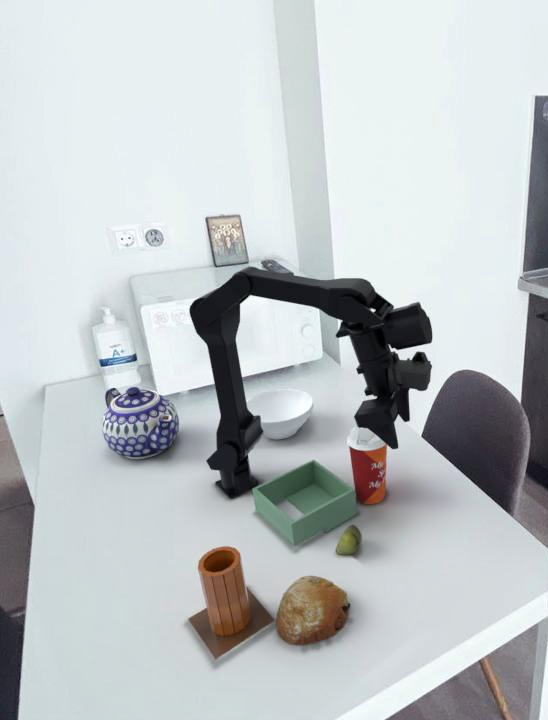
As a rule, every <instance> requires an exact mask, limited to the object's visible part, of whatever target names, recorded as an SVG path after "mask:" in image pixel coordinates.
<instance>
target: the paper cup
mask: <svg viewBox="0 0 548 720" xmlns="http://www.w3.org/2000/svg"><path fill="white" fill-rule="evenodd" d="M346 443H347V445H348V448H349V456H350V462H351V471H352V479H353V486H354V489H355V495H356V501H358V502H360V503H361V504H364V505H376V504H379V503H381V502H382V501H383V500H384V498H385V496H386V488H387V487H386V485H387V457H388V456H387V455H388V445H387V444H386V443H385V442H384V441H382V440H381V439H380V438H379V437H378V436H377V435H376V434H374V433H373V432H372V431H370V430H369V429H368V428H363V427H362V428H359V427H358V426H357V425H355V426H354V427H352V428H351V429H350V430H349V433H348V435H347V437H346Z"/></svg>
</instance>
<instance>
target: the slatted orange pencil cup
mask: <svg viewBox="0 0 548 720" xmlns="http://www.w3.org/2000/svg"><path fill="white" fill-rule="evenodd" d="M197 571H198V575H199V580H200V585H201V589H202V593H203V598H204V603H205V607H206V608H207V611H208V616H209V620H210V625H211V628H212V630H213V631H214V632H215V633H216V634H218V635H222V636H224V635H225V636H228V635H233V634H235V633H238V632H239V631H241V630H242V629H244V627H246V625H247V624H248V623H249V621H250V619H251V610H250V605H249V599H248V594H247V588H248V587H247V584H246V577H245V572H244V566H243V561H242V555H241V552H240V551H239V550H238V549H237V548H235V547H232V546H228V545H227V546H226V545H224V546H219V547H215V548H212V549H211V550H209V551H207V552H205V553H204V554H203V555H202V556H201V558H200V559H199V560H198V564H197ZM246 587H247V588H246Z"/></svg>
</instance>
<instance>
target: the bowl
mask: <svg viewBox="0 0 548 720" xmlns="http://www.w3.org/2000/svg"><path fill="white" fill-rule="evenodd" d="M246 404H247V408H248V410H249V411H250V412H251V413H252V414H253V415H254V416H256V415H260V417H261V427H262V429H263V431H264V432H263V434H262V435H263V436H265V437H266V438H269V439H271V440H284V439H288V438H290V437H292V436H294V435H295V434H296V433H297V432H299V431H298V430H299V429H300V428H301V427H302V426H303V425H304V424H305V423H306V421H307V420H308V419H309V417H310V416H311V414H312V413H313V407H314V399H313V397H312V396H311V395H310V394H309V393H307V392H306V391H303V390H299V389H293V388H278V389H271V390H267V391H264V392H260V393H258V394H255V395H253V396H251V397H250V398H248V399H246Z"/></svg>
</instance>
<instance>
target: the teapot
mask: <svg viewBox="0 0 548 720" xmlns="http://www.w3.org/2000/svg"><path fill="white" fill-rule="evenodd" d="M104 395H105V396H104V400H105V405H106V407H107V408H106V409H105V411H104V413H103V415H102V418H101V432H102V437H103V440H104V441H105V443H106V445H107V446H108V448H109V449H110V450H111V451H112V452H114V453H116V454H118V455H120V456H123V457H125V458H127V459H131V460H143V459H148V458H151V457H154V456H157V455H159V454H161V453H162V452H165V451H167V450H168V449H169V448H170V447H171V445H172V443H173V442H174V440H175V439H176V438H177V436H178V434H179V430H180V417H179V414H178V411H177V408H176V407H175V404H174V403H173V402H172V401H171V400H170V399H169V398H167V397H166V396H163V395H161V394H159V393H158V391H156V390H154V389H140V388H139V387H137V386H132V387H129V388H127V389H126V391H125V392H124V393H121V392H120V391H119V390H118V389H117V388H116V387H110V388H108V389H107V390H106V391H105V394H104Z"/></svg>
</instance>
